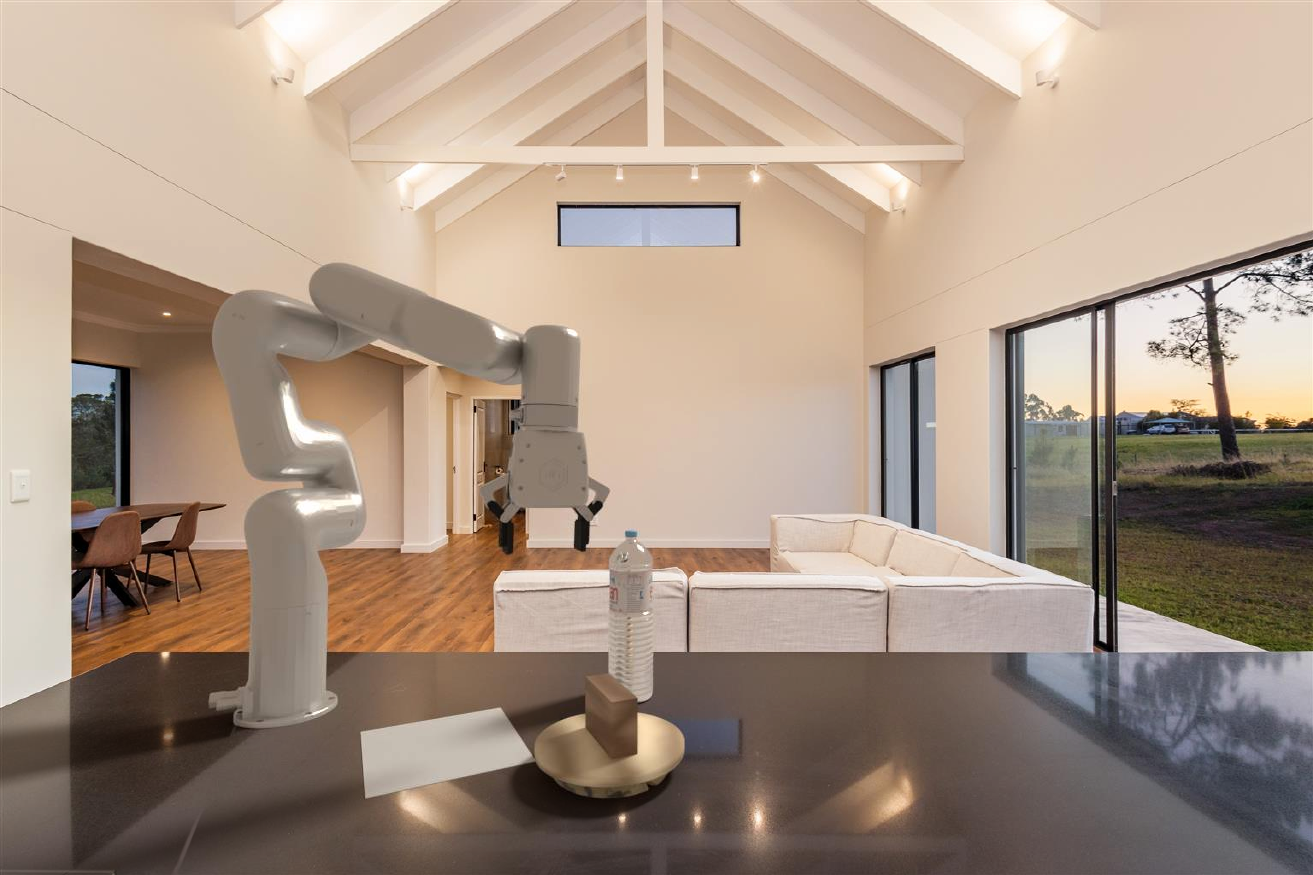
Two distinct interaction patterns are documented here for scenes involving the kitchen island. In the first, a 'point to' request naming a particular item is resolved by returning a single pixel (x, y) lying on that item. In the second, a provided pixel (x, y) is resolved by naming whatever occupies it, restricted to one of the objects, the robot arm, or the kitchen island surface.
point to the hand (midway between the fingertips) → (544, 551)
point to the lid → (609, 741)
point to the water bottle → (631, 617)
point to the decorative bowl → (610, 789)
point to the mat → (439, 751)
